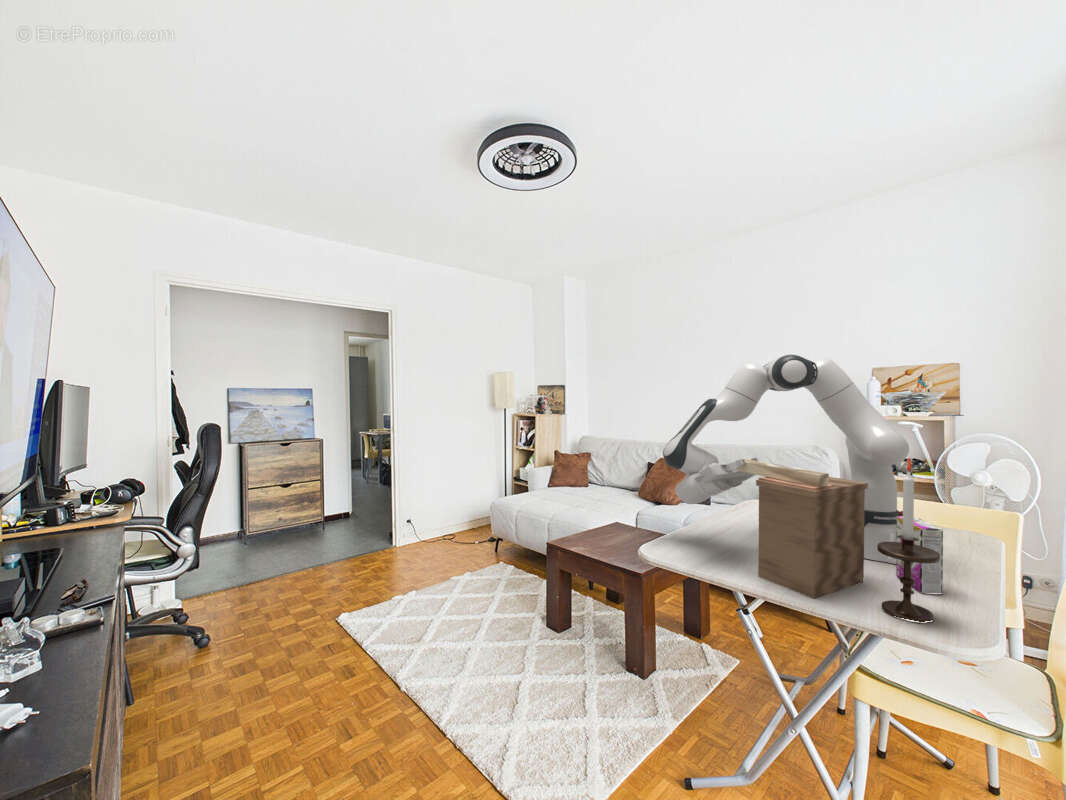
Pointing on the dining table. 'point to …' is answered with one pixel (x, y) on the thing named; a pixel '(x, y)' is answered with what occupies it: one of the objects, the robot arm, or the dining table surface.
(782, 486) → the walnut shelf
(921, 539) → the candy bar box
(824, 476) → the birch block
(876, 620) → the dining table surface
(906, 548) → the candlestick
